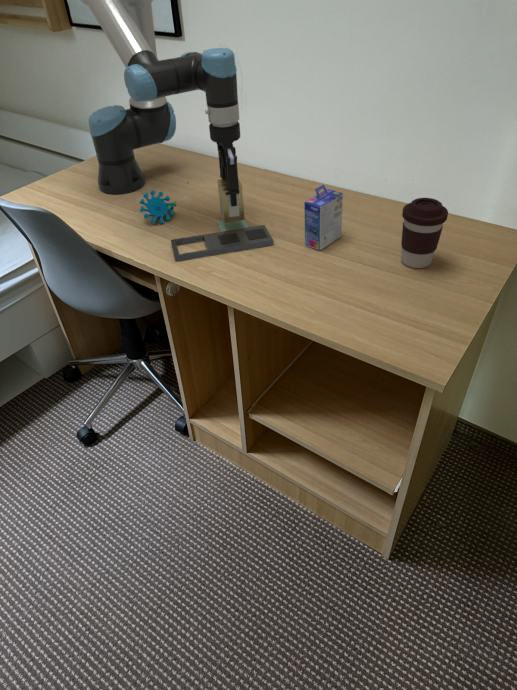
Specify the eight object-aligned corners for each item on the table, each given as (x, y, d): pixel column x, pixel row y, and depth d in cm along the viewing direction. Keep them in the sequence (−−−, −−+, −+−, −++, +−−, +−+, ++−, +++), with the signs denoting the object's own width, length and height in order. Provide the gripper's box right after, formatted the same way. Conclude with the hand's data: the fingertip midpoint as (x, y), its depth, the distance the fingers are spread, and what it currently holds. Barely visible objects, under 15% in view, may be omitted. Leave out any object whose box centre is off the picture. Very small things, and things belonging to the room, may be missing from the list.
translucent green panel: (216, 222, 142) (216, 221, 141) (243, 218, 143) (243, 217, 143) (221, 235, 136) (221, 234, 135) (250, 231, 137) (250, 229, 137)
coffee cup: (429, 276, 116) (442, 217, 106) (389, 265, 120) (397, 208, 111) (442, 256, 122) (455, 199, 113) (403, 247, 127) (412, 191, 117)
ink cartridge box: (325, 230, 135) (327, 178, 126) (342, 236, 132) (345, 184, 123) (302, 245, 130) (303, 192, 120) (319, 251, 127) (322, 197, 118)
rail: (171, 244, 133) (170, 239, 132) (264, 229, 137) (264, 224, 136) (175, 261, 126) (174, 256, 125) (273, 245, 131) (273, 239, 130)
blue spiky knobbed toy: (145, 224, 139) (136, 190, 140) (141, 232, 145) (132, 200, 145) (182, 219, 144) (173, 187, 145) (177, 227, 149) (168, 196, 150)
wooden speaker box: (220, 214, 139) (217, 179, 132) (240, 211, 140) (237, 176, 133) (224, 223, 135) (221, 186, 128) (244, 219, 136) (241, 183, 129)
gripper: (202, 113, 127) (212, 199, 142) (216, 136, 114) (225, 228, 129) (231, 110, 128) (237, 195, 144) (247, 131, 115) (253, 223, 130)
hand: (231, 210), depth 136 cm, fingers closed on wooden speaker box, 5 cm apart
